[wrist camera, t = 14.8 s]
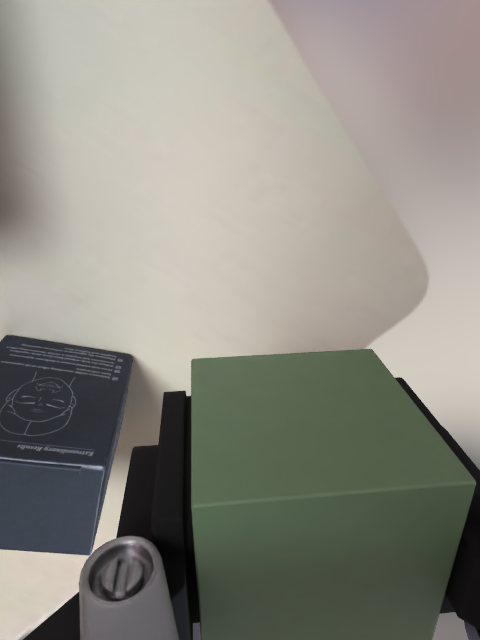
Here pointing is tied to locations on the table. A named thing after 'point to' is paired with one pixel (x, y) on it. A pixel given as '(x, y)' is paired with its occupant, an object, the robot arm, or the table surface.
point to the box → (57, 441)
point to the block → (319, 500)
